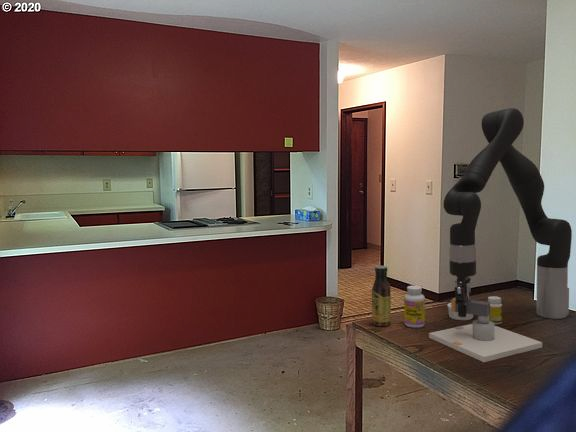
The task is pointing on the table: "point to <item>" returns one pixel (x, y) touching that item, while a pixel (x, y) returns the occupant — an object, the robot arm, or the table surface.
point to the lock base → (485, 341)
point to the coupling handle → (474, 309)
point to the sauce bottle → (381, 298)
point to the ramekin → (455, 315)
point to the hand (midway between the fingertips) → (463, 314)
